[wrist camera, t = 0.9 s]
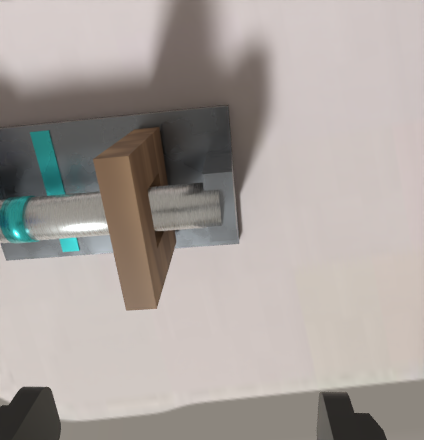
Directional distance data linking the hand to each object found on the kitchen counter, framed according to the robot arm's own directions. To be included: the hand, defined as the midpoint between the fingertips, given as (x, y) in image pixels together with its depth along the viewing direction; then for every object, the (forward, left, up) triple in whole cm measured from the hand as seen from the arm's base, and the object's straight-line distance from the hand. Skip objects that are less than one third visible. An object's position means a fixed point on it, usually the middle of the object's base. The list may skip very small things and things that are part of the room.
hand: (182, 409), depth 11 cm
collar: (+5, 0, -22) cm, 23 cm away
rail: (+9, 0, -24) cm, 25 cm away
